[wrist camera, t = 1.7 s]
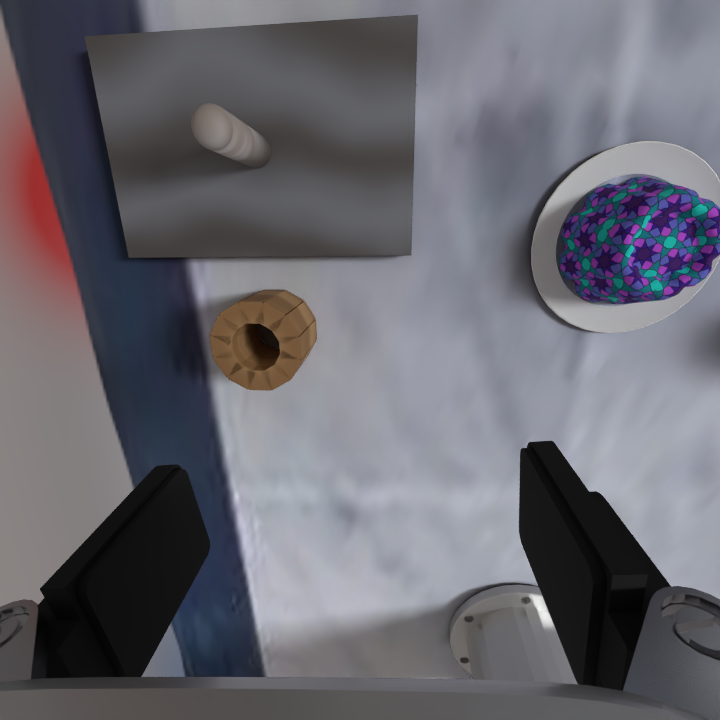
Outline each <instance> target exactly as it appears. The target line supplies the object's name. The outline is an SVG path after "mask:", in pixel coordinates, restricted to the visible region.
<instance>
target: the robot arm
mask: <svg viewBox="0 0 720 720" xmlns="http://www.w3.org/2000/svg"><path fill="white" fill-rule="evenodd" d="M519 533H520V539H521V542H522V545H523V548H524V550H525V553H526V556H527V558H528V561H529V563H530V566H531V568H532V571H533V573H534V576H535V578H536V581H537V583H538V586H539V587H535V586H528V585H505V586H499V587H494V588H491V589H488V590H485V591H482V592H480V593H478V594H476V595H474V596H472V597H471V598H469V599H468V600H467V601H466V602H464V603H463V604H462V605H461V606H460V607H459V608H458V610H457V611H456V612H455V614H454V616H453V618H452V620H451V623H450V628H449V638H450V645H451V650H452V653H453V655H454V657H455V659H456V661H457V662H458V663H459V664H460V666H461V667H462V668H463V669H464V670H465V671H467V672H468V673H469V674H470V675H472V679H405V678H303V677H141V676H142V674H143V673H144V671H145V669H146V667H147V665H148V664H149V662H150V660H151V658H152V656H153V654H154V653H155V651H156V649H157V647H158V645H159V643H160V642H161V640H162V638H163V636H164V634H165V632H166V631H167V629H168V626H169V625H170V623H171V621H172V620H173V618H174V616H175V614H176V612H177V610H178V609H179V607H180V605H181V603H182V601H183V599H184V598H185V596H186V594H187V592H188V590H189V588H190V587H191V585H192V583H193V581H194V579H195V577H196V576H197V574H198V572H199V570H200V568H201V566H202V564H203V563H204V561H205V559H206V557H207V555H208V553H209V549H210V541H209V537H208V534H207V531H206V528H205V525H204V522H203V519H202V516H201V513H200V510H199V507H198V504H197V501H196V498H195V495H194V492H193V489H192V486H191V483H190V480H189V477H188V474H187V472H186V470H184V469H182V468H181V467H180V466H179V465H177V464H176V465H160V466H156V467H155V468H154V469H153V470H152V471H151V472H150V473H149V474H148V475H147V476H146V477H145V478H144V479H143V480H142V481H141V482H140V483H139V485H138V486H137V487H136V488H135V489H134V490H133V491H132V492H131V493H130V494H129V495H128V496H127V497H126V498H125V499H124V500H123V502H122V503H121V504H120V505H119V506H118V507H117V508H116V509H115V510H114V511H113V512H112V513H111V514H110V515H109V516H108V517H107V518H106V519H105V521H104V522H103V523H102V524H101V525H100V526H99V527H98V528H97V529H96V530H95V531H94V532H93V533H92V534H91V536H89V538H88V539H87V540H86V541H85V542H84V543H83V544H82V545H81V546H80V547H79V548H78V549H77V550H76V551H75V552H74V553H73V554H72V556H71V557H70V558H69V559H68V560H67V561H66V562H65V563H64V564H63V565H62V566H61V567H60V568H59V569H58V570H57V571H56V572H55V573H54V575H53V576H52V577H51V578H50V579H49V580H48V581H47V582H46V583H45V584H44V585H43V586H42V587H41V588H40V590H41V592H42V594H43V595H44V599H43V600H42V601H41V602H40V604H39V605H37V603H35V602H34V601H32V600H19V601H15V602H11V603H9V604H7V605H4V606H2V607H0V720H720V599H718V598H716V597H714V596H712V595H710V594H708V593H705V592H702V591H699V590H696V589H693V588H687V587H680V586H673V587H671V586H670V585H669V583H668V582H667V581H666V579H665V578H664V577H663V575H662V574H661V573H660V571H659V570H658V569H657V567H656V566H655V565H654V563H653V562H652V561H651V559H650V558H649V557H648V555H647V554H646V553H645V551H644V550H643V549H642V547H641V546H640V545H639V543H638V542H637V541H636V539H635V538H634V537H633V535H632V534H631V533H630V531H629V530H628V529H627V527H626V526H625V525H624V523H623V522H622V521H621V519H620V518H619V517H618V515H617V514H616V513H615V511H614V510H613V509H612V507H611V506H610V505H609V503H608V502H607V501H606V499H605V498H604V497H603V496H602V495H601V494H600V493H598V492H589V491H588V490H587V488H586V487H585V485H584V484H583V483H582V481H581V480H580V478H579V477H578V475H577V474H576V473H575V471H574V470H573V468H572V467H571V466H570V464H569V463H568V461H567V460H566V459H565V457H564V456H563V454H562V453H561V452H560V450H559V449H558V447H557V446H556V445H555V443H554V442H553V441H540V442H529V443H528V446H527V448H522V449H521V452H520V503H519Z"/></svg>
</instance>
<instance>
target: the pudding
mask: <svg viewBox="0 0 720 720" xmlns="http://www.w3.org/2000/svg"><path fill="white" fill-rule="evenodd" d="M628 174H648V175H652V176H657V177H659V178H662V179H664V180H666V181H668V182H669V183H667V182H663V181H659V180H656V179H652V178H648V177H636V178H631V179H630V180H629V181H628V182H626V183H625V184H624V185H622V186H617V185H612V184H607V185H604V186H602V187H599V188H597V189H596V190H594V191H593V192H592V193H591V194H590V195H589V196H588V197H587V199H586V202H585V205H584V208H583V210H581V211H579V212H577V213H575V214H573V215H571V216H570V217H569V219H568V220H567V222H566V223H565V225H564V227H563V231H562V235H561V237H562V240H563V242H564V244H565V247H566V248H565V249H564V251H563V253H562V254H561V256H560V258H559V267H560V270H561V272H562V274H563V276H564V277H565V278H567V279H570V280H573V281H575V286H576V293H578V294H579V295H580V296H581V297H582V298H583V299H586V300H590V301H593V302H594V301H606V300H609V301H610V302H612V303H613V304H627V305H622V306H614V307H612V306H600V305H595V304H591V303H589V302H586V301H584V300H582V299H580V298H579V297H577V296H576V295H574V294H573V293H572V292H571V291H570V290H569V289H568V288H567V286H566V285H565V283H564V282H563V280H562V278H561V276H560V273H559V271H558V267H557V262H556V245H557V239H558V235H559V232H560V229H561V226H562V224H563V222H564V220H565V218H566V217H567V215H568V213H569V212H570V210H571V209H572V208H573V206H574V205H575V204H576V203H577V202H578V201H579V200H580V199H581V198H582V197H583V196H584V195H585V194H586V193H587V192H589V191H590V190H592V189H593V188H594V187H596V186H597V185H599V184H601V183H603V182H605V181H607V180H609V179H612V178H615V177H618V176H622V175H628ZM719 259H720V180H719V178H718V176H717V174H716V173H715V172H714V171H713V170H712V168H711V167H710V166H709V165H708V164H707V163H706V162H705V161H704V160H703V159H701V158H700V157H699V156H697V155H696V154H695V153H693V152H692V151H689V150H687V149H685V148H683V147H680V146H678V145H674V144H669V143H664V142H653V141H641V142H635V143H629V144H624V145H621V146H618V147H615V148H612V149H609V150H606V151H604V152H602V153H600V154H598V155H597V156H595V157H593V158H591V159H589V160H587V161H586V162H585V163H583V164H582V165H581V166H579V167H578V168H577V169H575V170H574V171H573V172H572V173H571V174H570V175H569V176H568V177H567V178H566V179H565V180H564V181H563V182H562V183H561V184H560V185H559V186H558V187H557V189H556V190H555V191H554V193H553V194H552V196H551V197H550V198H549V200H548V201H547V203H546V205H545V207H544V209H543V211H542V213H541V215H540V216H539V219H538V222H537V225H536V228H535V231H534V235H533V241H532V247H531V267H532V272H533V277H534V281H535V283H536V286H537V288H538V291H539V293H540V295H541V296H542V298H543V299H544V301H545V302H546V304H547V305H548V306H549V307H550V308H551V309H552V310H553V311H554V312H555V313H556V314H557V315H558V316H559V317H561V318H562V319H564V320H565V321H567V322H568V323H570V324H572V325H574V326H577V327H579V328H582V329H585V330H589V331H594V332H601V333H618V332H627V331H632V330H636V329H639V328H643V327H646V326H649V325H651V324H653V323H656V322H658V321H660V320H662V319H664V318H666V317H667V316H669V315H671V314H672V313H674V312H676V311H677V310H678V309H679V308H681V307H682V306H683V305H684V304H686V303H687V302H688V301H689V300H691V298H692V297H693V296H694V295H695V294H696V293H697V292H698V291H699V290H700V289H701V288H702V287H703V285H704V284H705V283H706V281H707V280H708V278H709V277H710V276H711V274H712V273H713V271H714V269H715V267H716V265H717V263H718V261H719ZM630 303H631V304H630Z"/></svg>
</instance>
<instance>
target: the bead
mask: <svg viewBox="0 0 720 720" xmlns="http://www.w3.org/2000/svg"><path fill="white" fill-rule="evenodd" d="M314 319H315V317H314V315H313V314H312V312H311V310H310V309H309V307H308V306H307V304H306V303H305V301H304V302H303V300H302V299H301V298H299V297H297V296H295V295H294V294H292V293H290V292H288V291H287V290H263V291H261V292H258V293H256V294H254V295H252V296H250V297H248V298H245V299H243V300H241V301H239V302H237V303H235V304H234V305H232V306H231V307H229V308H227V309H226V310H224V311H223V312H221V313H220V314H219V315H218V317H217V319H216V321H215V324H214V326H213V328H212V331H211V333H210V342H211V349H212V356H213V358H214V361H215V362H216V364H217V365H218V366H219V368H220V369H221V370H222V372H223V373H224V375H225V376H226V377H228V379H229V380H231V381H233V382H235V383H237V384H239V385H240V386H242V387H244V388H246V389H249V390H273V389H275V388H277V387H279V386H281V385H282V384H284V383H286V382H288V381H290V380H291V379H292V378H293V376H294V375H295V373H296V372H297V370H298V369H299V368H300V366H301V365H302V363H303V362H304V361H305V359H306V358H307V356H308V355H309V353H310V351H311V349H312V347H313V345H314V344H315V342H316V339H317V333H316V320H314ZM257 324H261V325H263V326H265V327H267V328H268V329H270V330H272V332H273V333H274V335H275V336H276V338H277V339H278V341H279V347H280V349H274V348H272V347H271V346H269V345H267V344H265V343H264V342H263V340H262V339H261V337H260V336H259V334H258V325H257Z"/></svg>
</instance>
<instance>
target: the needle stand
mask: <svg viewBox="0 0 720 720" xmlns="http://www.w3.org/2000/svg"><path fill="white" fill-rule="evenodd" d="M417 24H418V15H407V16H391V17H376V18H361V19H345V20H330V21H315V22H299V23H284V24H269V25H253V26H238V27H223V28H207V29H192V30H177V31H161V32H146V33H131V34H115V35H100V36H85V40H86V45H87V50H88V55H89V60H90V65H91V70H92V75H93V80H94V85H95V90H96V95H97V100H98V105H99V110H100V116H101V121H102V126H103V131H104V136H105V141H106V146H107V151H108V156H109V161H110V166H111V171H112V176H113V181H114V186H115V191H116V196H117V201H118V206H119V211H120V216H121V221H122V226H123V231H124V236H125V241H126V246H127V251H128V256H129V258H156V257H271V256H385V255H411V245H412V208H413V171H414V134H415V98H416V61H417Z"/></svg>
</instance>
